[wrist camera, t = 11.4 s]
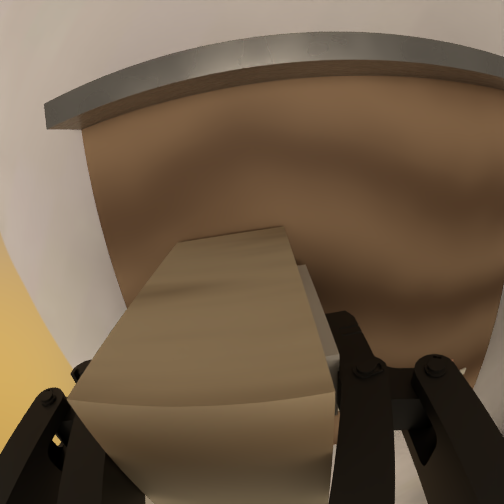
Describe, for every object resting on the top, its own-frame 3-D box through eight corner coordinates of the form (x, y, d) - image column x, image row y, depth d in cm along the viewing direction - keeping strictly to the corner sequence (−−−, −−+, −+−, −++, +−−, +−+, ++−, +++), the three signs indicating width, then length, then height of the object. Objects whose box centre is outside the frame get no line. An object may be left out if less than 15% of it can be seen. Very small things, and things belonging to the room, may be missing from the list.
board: (463, 397, 20) (480, 425, 16) (197, 449, 21) (192, 484, 18) (493, 73, 11) (532, 67, 8) (86, 109, 13) (44, 104, 9)
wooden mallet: (304, 418, 18) (321, 550, 9) (230, 425, 18) (220, 555, 9) (284, 226, 14) (335, 391, 4) (177, 242, 14) (66, 399, 5)
